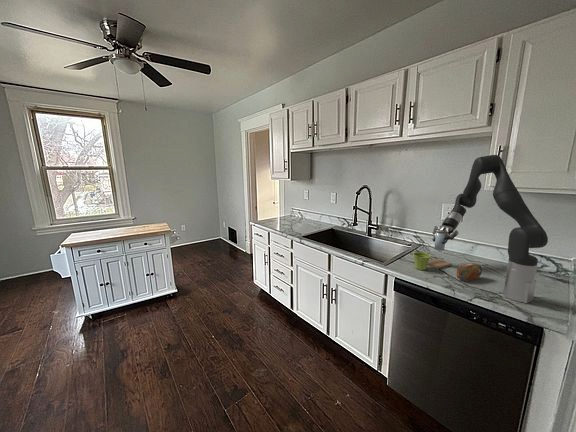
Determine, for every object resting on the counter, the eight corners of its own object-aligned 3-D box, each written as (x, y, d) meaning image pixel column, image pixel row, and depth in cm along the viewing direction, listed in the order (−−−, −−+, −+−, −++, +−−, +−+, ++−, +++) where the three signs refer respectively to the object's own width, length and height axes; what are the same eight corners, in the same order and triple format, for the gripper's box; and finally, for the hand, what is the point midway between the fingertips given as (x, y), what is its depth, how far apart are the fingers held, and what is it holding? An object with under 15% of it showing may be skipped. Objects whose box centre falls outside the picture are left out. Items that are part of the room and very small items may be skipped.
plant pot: (411, 270, 143) (413, 256, 141) (411, 264, 151) (412, 251, 149) (430, 272, 139) (431, 258, 137) (428, 266, 147) (430, 253, 145)
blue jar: (446, 249, 146) (448, 230, 144) (440, 251, 144) (442, 232, 142) (437, 247, 151) (439, 228, 149) (431, 248, 149) (433, 229, 147)
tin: (460, 282, 126) (461, 267, 125) (454, 279, 129) (456, 265, 128) (481, 278, 130) (483, 263, 128) (475, 275, 133) (477, 261, 131)
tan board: (452, 265, 148) (452, 263, 147) (439, 269, 143) (439, 267, 142) (436, 260, 156) (436, 258, 156) (423, 263, 152) (424, 261, 151)
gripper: (438, 215, 153) (424, 235, 151) (462, 219, 141) (447, 241, 138) (443, 222, 157) (429, 242, 154) (467, 226, 144) (452, 249, 141)
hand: (438, 242), depth 146 cm, fingers closed on blue jar, 5 cm apart
